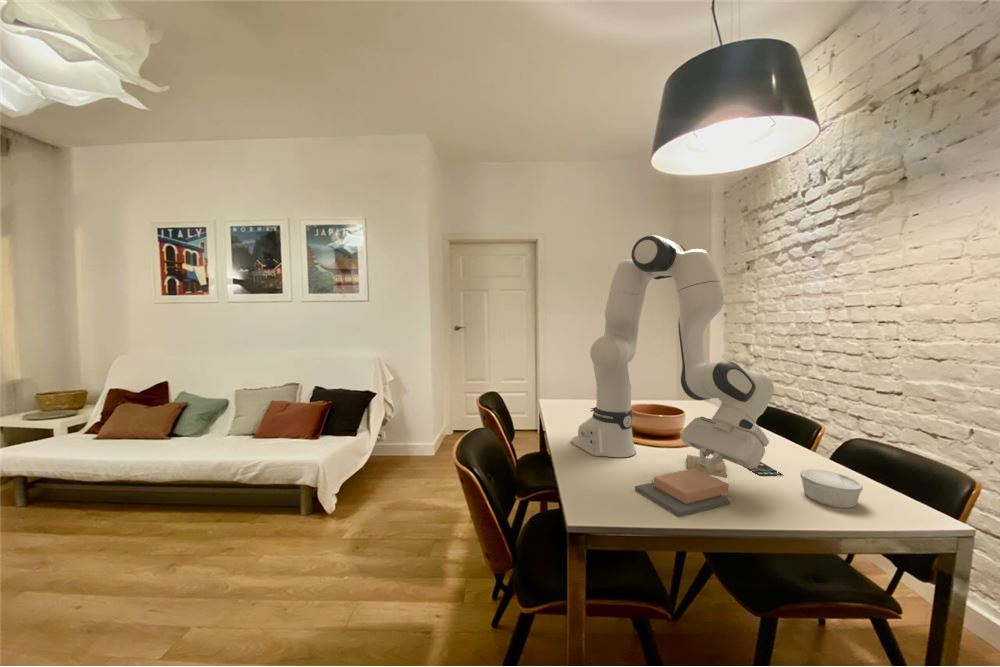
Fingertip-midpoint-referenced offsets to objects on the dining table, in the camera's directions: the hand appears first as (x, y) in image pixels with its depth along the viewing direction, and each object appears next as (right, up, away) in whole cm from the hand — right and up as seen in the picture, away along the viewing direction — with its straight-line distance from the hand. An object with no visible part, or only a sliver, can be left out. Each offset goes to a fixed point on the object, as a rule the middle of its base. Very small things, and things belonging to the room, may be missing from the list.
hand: (702, 466), depth 94 cm
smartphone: (+25, -6, +17) cm, 30 cm away
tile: (+3, -4, +1) cm, 5 cm away
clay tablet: (+10, -7, +16) cm, 20 cm away
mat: (-7, -6, -2) cm, 10 cm away
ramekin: (+29, -7, -4) cm, 30 cm away
